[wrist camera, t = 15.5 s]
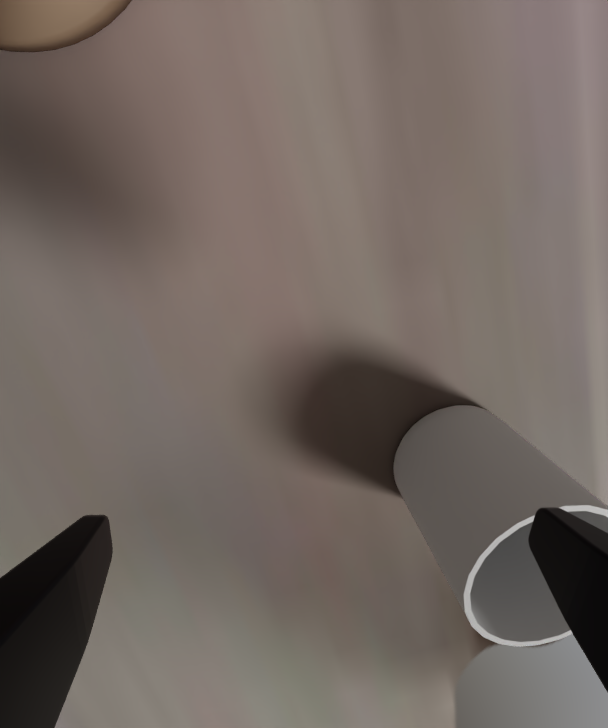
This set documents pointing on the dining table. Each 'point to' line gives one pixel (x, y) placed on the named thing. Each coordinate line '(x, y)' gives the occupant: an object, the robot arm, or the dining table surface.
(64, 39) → the tan flat disc
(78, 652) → the robot arm
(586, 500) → the cup
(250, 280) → the dining table surface
